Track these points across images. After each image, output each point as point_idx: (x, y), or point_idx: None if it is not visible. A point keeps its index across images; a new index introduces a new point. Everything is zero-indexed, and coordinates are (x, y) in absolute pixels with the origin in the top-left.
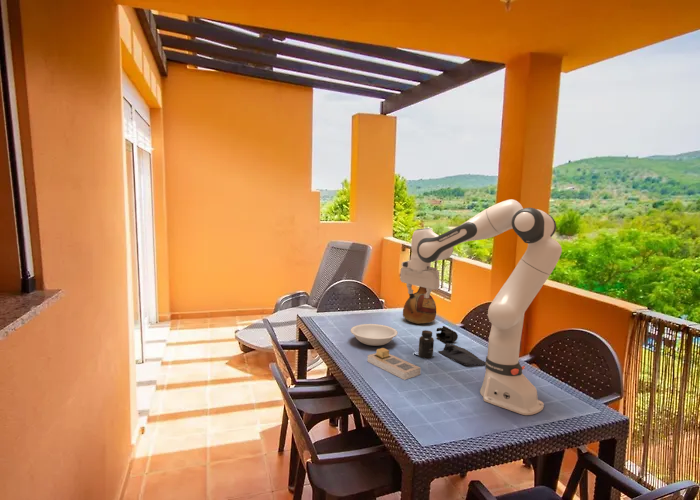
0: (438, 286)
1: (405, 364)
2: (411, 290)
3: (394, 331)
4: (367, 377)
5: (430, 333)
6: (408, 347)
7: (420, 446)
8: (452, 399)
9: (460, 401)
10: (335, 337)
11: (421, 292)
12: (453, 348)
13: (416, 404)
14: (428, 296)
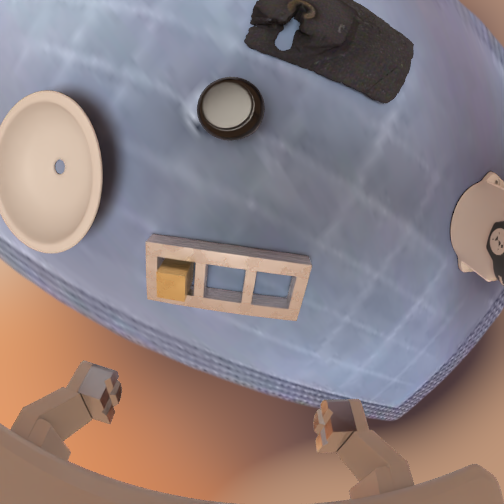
0: (486, 487)
1: (259, 270)
2: (107, 414)
3: (68, 111)
4: (224, 350)
5: (251, 110)
6: (144, 93)
7: (395, 409)
8: (412, 306)
9: (425, 301)
10: (3, 222)
11: None
12: (309, 33)
13: (362, 362)
14: (357, 415)
